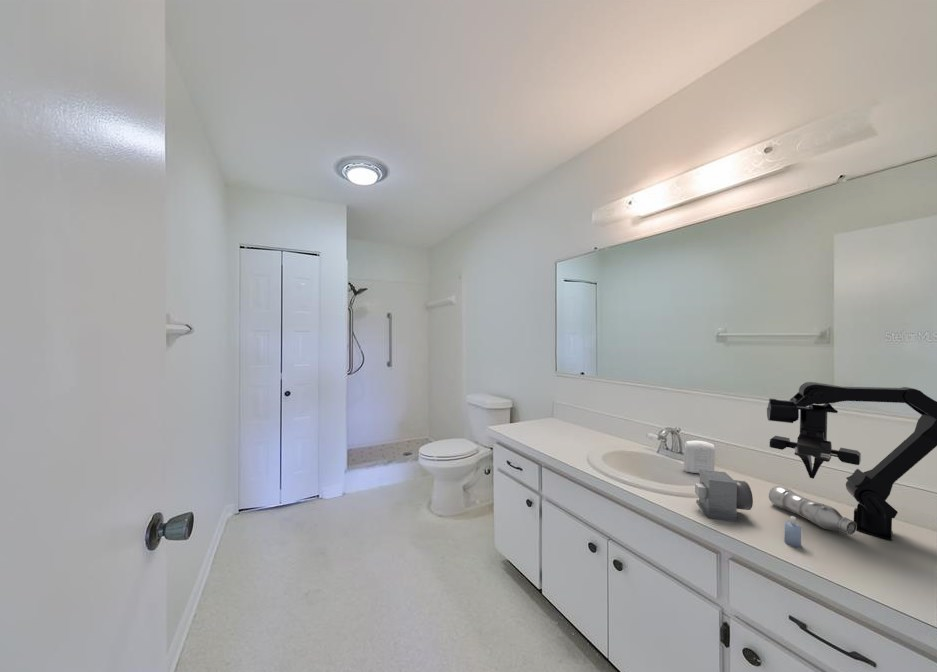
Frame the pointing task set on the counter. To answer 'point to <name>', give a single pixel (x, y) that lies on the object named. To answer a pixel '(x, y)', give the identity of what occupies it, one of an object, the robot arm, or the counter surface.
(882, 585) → the counter surface
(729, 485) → the mount
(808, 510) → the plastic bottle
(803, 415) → the robot arm
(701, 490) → the knob
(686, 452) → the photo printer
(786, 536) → the small blue bottle
